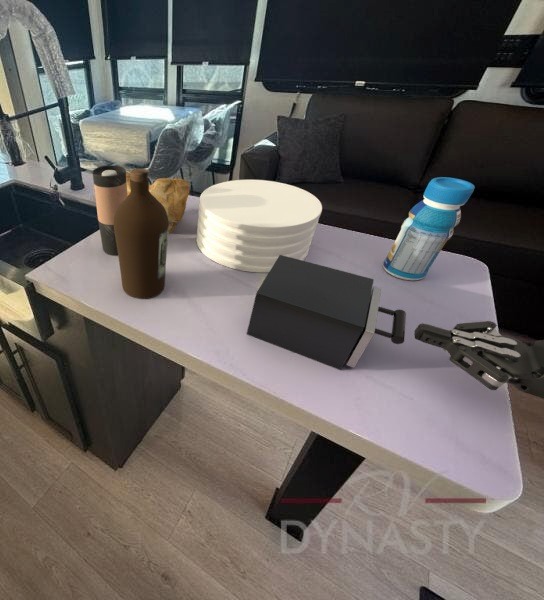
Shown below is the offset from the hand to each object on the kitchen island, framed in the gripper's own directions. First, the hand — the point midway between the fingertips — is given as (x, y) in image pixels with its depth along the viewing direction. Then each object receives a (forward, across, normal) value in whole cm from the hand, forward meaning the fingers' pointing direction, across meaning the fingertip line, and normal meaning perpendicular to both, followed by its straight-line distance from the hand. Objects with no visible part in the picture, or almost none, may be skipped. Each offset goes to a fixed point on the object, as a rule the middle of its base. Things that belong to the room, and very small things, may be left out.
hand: (416, 330), depth 50 cm
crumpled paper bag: (+61, -25, +7) cm, 66 cm away
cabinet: (+15, 0, +7) cm, 17 cm away
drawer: (+11, 0, +6) cm, 13 cm away
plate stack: (+34, -26, +7) cm, 43 cm away
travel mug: (+63, -6, +7) cm, 63 cm away
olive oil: (+48, +4, +7) cm, 48 cm away
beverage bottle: (0, -30, +7) cm, 31 cm away
